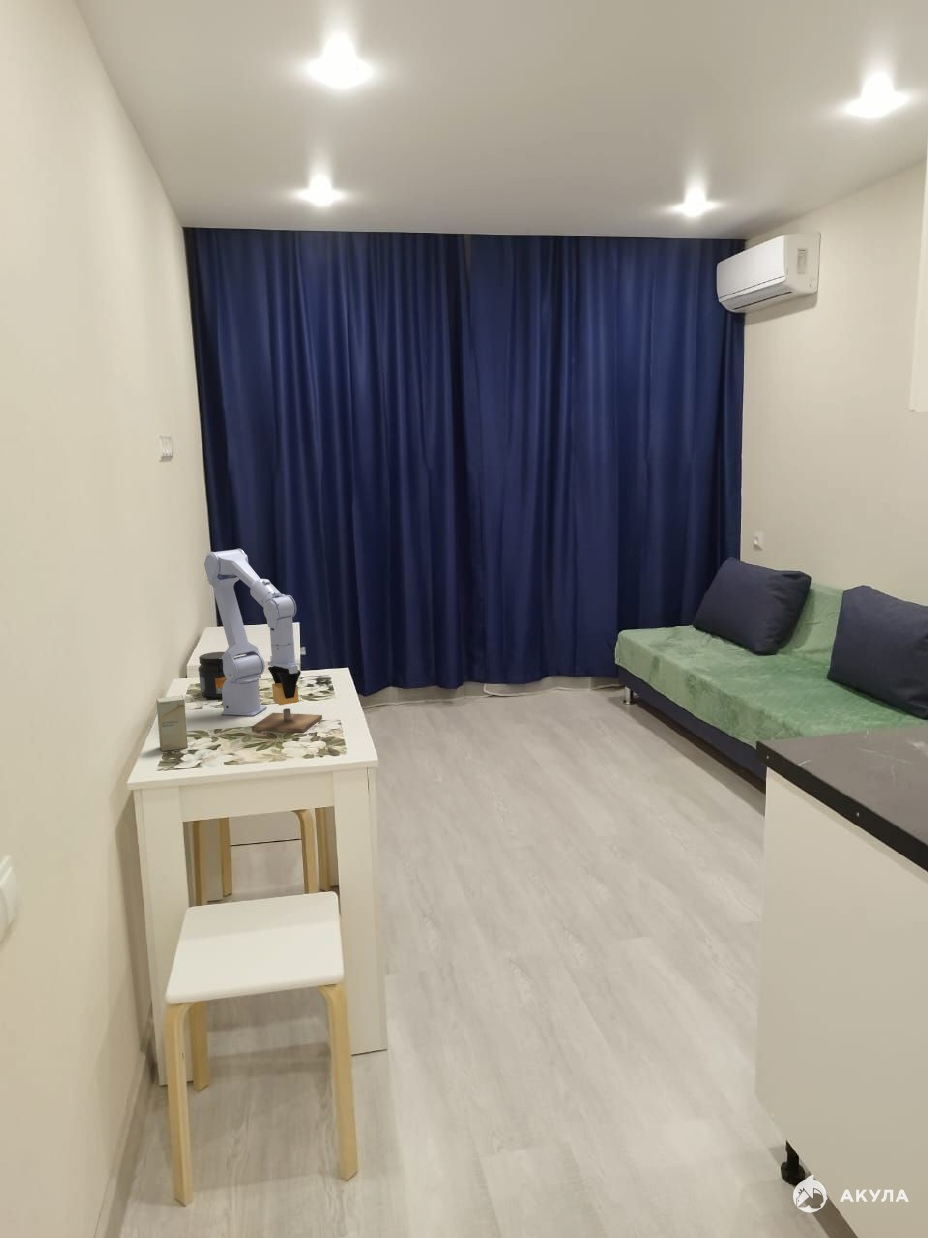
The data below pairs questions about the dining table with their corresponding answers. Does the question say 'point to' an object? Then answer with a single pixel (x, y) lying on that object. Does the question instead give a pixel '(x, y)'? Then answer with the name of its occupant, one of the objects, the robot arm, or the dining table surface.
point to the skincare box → (172, 723)
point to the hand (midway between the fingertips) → (285, 695)
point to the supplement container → (211, 675)
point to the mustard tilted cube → (280, 697)
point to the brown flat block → (287, 722)
